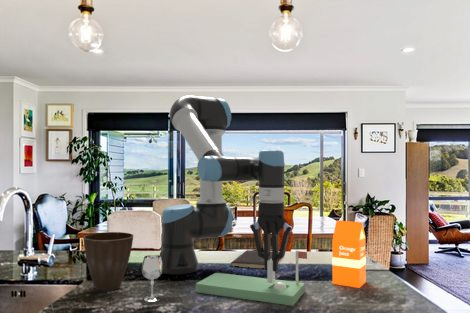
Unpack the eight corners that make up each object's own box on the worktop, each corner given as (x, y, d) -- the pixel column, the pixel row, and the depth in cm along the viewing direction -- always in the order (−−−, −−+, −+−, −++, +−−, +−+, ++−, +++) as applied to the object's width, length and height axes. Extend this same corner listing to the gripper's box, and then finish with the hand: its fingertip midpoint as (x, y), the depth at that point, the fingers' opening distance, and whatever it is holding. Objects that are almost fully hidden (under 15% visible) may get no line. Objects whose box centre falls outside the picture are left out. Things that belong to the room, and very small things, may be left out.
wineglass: (143, 296, 118) (143, 254, 118) (163, 295, 118) (163, 254, 119) (140, 302, 112) (140, 259, 113) (161, 302, 113) (161, 258, 113)
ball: (268, 291, 118) (276, 280, 117) (272, 288, 122) (279, 277, 121) (280, 300, 117) (287, 289, 116) (283, 297, 120) (290, 286, 120)
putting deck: (195, 291, 122) (195, 250, 123) (215, 280, 135) (216, 242, 135) (296, 306, 110) (296, 259, 110) (308, 291, 123) (308, 250, 123)
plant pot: (140, 282, 132) (141, 232, 133) (118, 296, 118) (119, 240, 118) (99, 279, 135) (99, 231, 136) (72, 293, 121) (73, 238, 121)
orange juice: (359, 288, 127) (359, 223, 128) (332, 283, 132) (332, 221, 132) (366, 282, 134) (365, 221, 134) (339, 278, 138) (339, 219, 139)
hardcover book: (282, 257, 172) (282, 252, 172) (271, 270, 150) (271, 264, 150) (245, 255, 177) (245, 249, 177) (230, 267, 154) (230, 261, 155)
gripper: (246, 201, 120) (246, 282, 119) (289, 203, 115) (289, 287, 114) (255, 200, 127) (254, 276, 126) (296, 201, 122) (296, 281, 121)
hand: (271, 281), depth 120 cm, fingers closed
